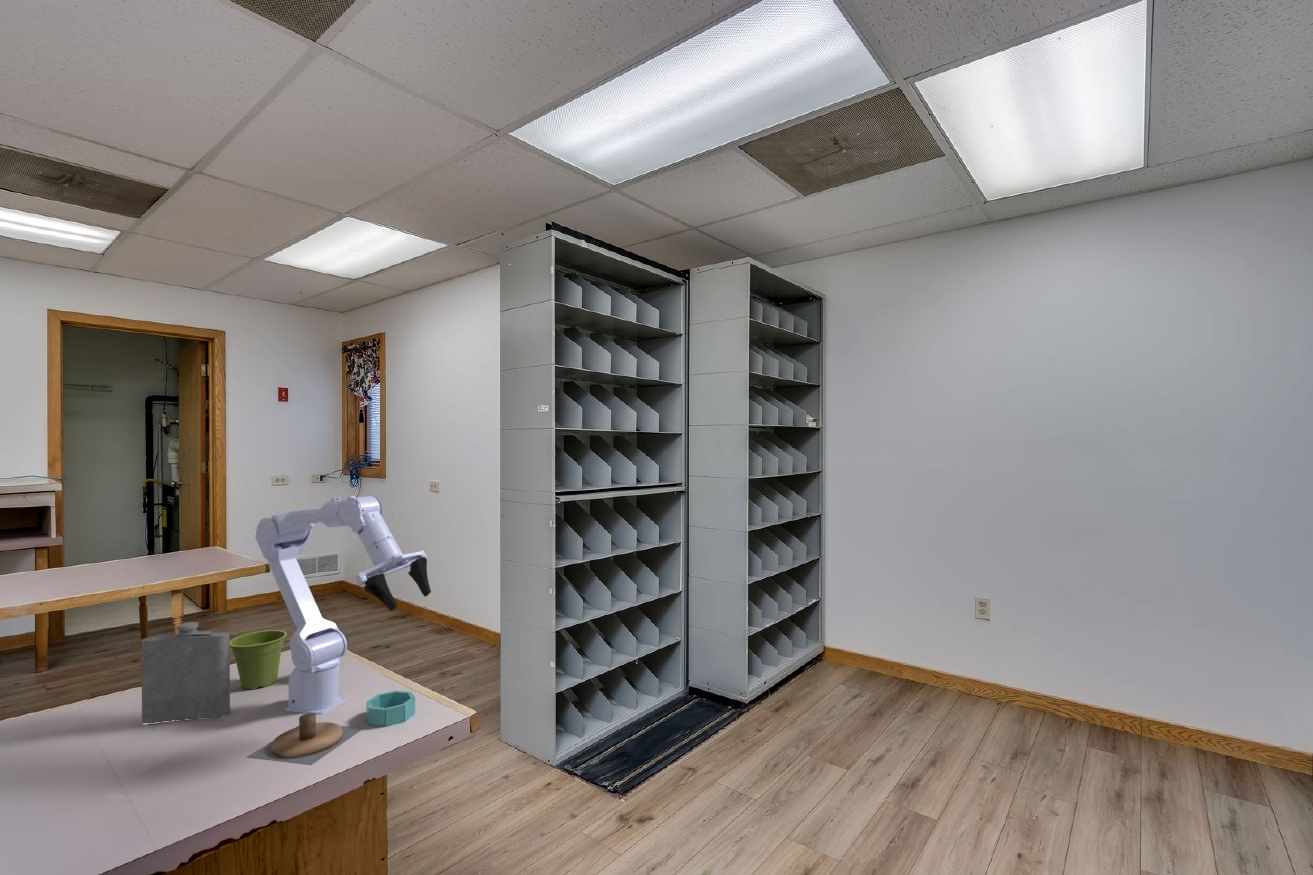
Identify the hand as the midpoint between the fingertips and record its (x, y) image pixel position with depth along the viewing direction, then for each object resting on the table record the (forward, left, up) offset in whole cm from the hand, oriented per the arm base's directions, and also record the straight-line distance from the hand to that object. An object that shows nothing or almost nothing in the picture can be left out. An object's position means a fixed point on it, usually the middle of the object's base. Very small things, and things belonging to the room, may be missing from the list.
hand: (411, 601), depth 124 cm
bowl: (-8, +4, -26) cm, 28 cm away
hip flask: (-51, -4, -26) cm, 57 cm away
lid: (-17, -9, -26) cm, 32 cm away
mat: (-17, -9, -26) cm, 32 cm away
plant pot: (-51, +14, -26) cm, 59 cm away
